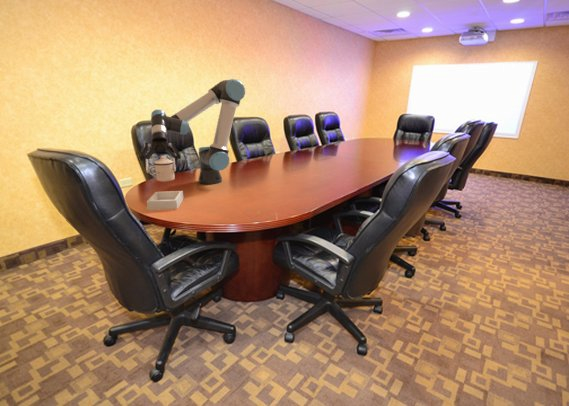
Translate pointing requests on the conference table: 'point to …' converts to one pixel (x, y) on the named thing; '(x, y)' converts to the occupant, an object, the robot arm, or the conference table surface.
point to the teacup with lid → (163, 169)
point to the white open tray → (165, 200)
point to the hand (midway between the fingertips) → (161, 170)
